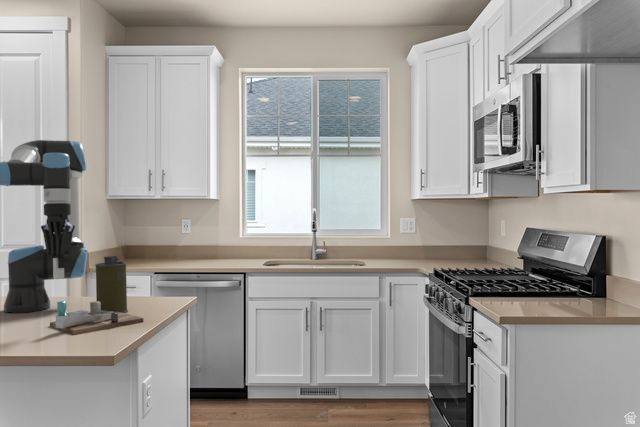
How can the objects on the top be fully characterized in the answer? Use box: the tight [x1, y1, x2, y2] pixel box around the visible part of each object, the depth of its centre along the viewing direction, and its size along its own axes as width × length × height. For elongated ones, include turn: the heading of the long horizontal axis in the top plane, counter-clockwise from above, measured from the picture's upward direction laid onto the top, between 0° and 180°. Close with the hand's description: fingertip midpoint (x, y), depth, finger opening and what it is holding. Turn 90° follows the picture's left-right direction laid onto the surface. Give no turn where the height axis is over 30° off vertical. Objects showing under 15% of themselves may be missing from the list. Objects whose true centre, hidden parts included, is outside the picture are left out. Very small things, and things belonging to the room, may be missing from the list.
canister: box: [95, 255, 129, 314], centre depth 189 cm, size 11×10×20 cm
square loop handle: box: [55, 300, 115, 329], centre depth 165 cm, size 17×8×8 cm, turn 153°
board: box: [49, 300, 145, 335], centre depth 169 cm, size 18×22×7 cm
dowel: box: [111, 313, 118, 323], centre depth 166 cm, size 2×2×4 cm
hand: (58, 278), depth 165 cm, fingers closed
